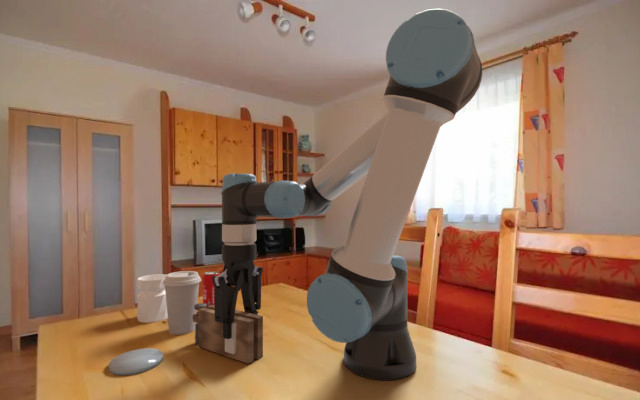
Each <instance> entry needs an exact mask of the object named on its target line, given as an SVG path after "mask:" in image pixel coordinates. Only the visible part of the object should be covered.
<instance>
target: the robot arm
mask: <svg viewBox="0 0 640 400" xmlns="http://www.w3.org/2000/svg"><path fill="white" fill-rule="evenodd" d="M385 63H386V67H387V72H388V73H389V79H388V82H387V85H386V88H385V91H384V94H383V97H382V101H383V102H384V104H385V106H386V109H387V113H385V114H384V115H383V116H382V117H380V119H378V120H377V121H375V123H373V124H372V125H371V126H369V128H367V129H366V130H365V131H364V132H362V133H361V134H360V135H359V136H358V137H357V138H355V140H353V141H352V142H351V143H350V144H349V145H347V146H346V147H345V148H344V149H343V150H341V152H339V153H337V154H336V156H334V157H333V158H332V159H331V160H330V161H329V162H327V163H326V164H325V165H324V166H323V167H321V168H320V169H319V170H317V172H315V173H314V174H313V175H312V176H310V178H308V179H307V180H305V181H304V182H302V183H299V182H298V181H297V182H296V181H293V180H282V179H281V180H277V181H276V180H275V181H264V182H263V181H262V182H257V176H256V175H254V174H253V173H227V174H225V175H223V177H222V183H221V184H222V185H221V193H220V195H221V241H222V242H223V243H224V244H222V245H221V260H222V261H223V263H224V266H223V268H222V272H221V273H219V274H220V275H218V276H213V277H212V281H213V284H214V287H215V321H216V322H220V323H223V338H225V352H228V353H231V354H235V353H236V323H235V322H233V320H234V314H235V310H236V309H237V308H236V307H237V300H238V296H239V295H238V294H239V292H240V293H241V297H242V298H241V299H242V304H243V309H244V310H243V312H247V313H252V314H256V315H259V310H261V308H262V276H263V272H264V268H263V267H261V266H256V265H255V262H254V261H256V259H257V244H256V243H255V242H256V241H257V218H277V219H289V218H295V217H306V216H308V217H309V216H310V217H315V216H318V215H323V214H325V213H326V212H327V211H328V210H329V209H330V208H331V204H332V201H334V200H335V199H337V198H338V197H340V196H341V195H342V194H344V192H346V191H347V190H348V189H350V188H351V187H352V186H355V184H356V183H358V182H359V181H360V180H362V179H363V178H364V177H365V181H364V183H363V186H362V189H361V192H360V194H359V195H360V196H359V198H358V201H357V203H356V207H355V210H354V213H353V216H352V219H351V222H350V225H349V228H348V231H347V233H346V236H345V239H344V242H343V244H342V245H341V246H339V247H337V248H334V249H332V252H331V254H330V256H329V260H328V262H327V266H326V269H325V273H323V274H321V275H319V276H317V277H316V278H315V279H314V281H312V282H311V284H310V286H309V288H308V290H307V293H306V306H307V310H308V311H307V312H308V315H310V317H311V319H312V320H311V321H312V323H313V325H314V326H315V327H316V328H317V330H318V331H319V332H320V333H321V334H322V335H324V336H325V337H326V338H328V339H329V340H331V341H334V342H336V343H341V344H343V343H345V345H344V349H343V363H344V365H345V367H346V368H347V369H348V370H350V371H351V372H353V373H355V374H357V375H359V376H361V377H364V378H368V379H372V380H380V381H392V380H393V381H394V380H399V379H403V378H406V377H408V376H410V375H412V374H413V373H414V372H416V369H417V353H416V350H415V346H414V343H413V341H412V337H411V335H410V331H409V329H408V275H409V271H408V264H407V263H408V262H407V259H406V258H405V257H403V256H402V255H401V256H400V255H396V254H395V252H396V249H397V246H398V242H399V240H400V238H401V234H402V233H403V229H404V227H405V224H406V221H407V219H408V215H409V213H410V210H411V207H412V205H413V202H414V199H415V196H416V194H417V192H418V189H419V186H420V183H421V180H422V178H423V175H424V172H425V170H426V167H427V164H428V161H429V158H430V156H431V153H432V152H433V151H432V150H433V147H434V145H435V143H436V141H437V137H438V134H439V131H440V128H441V127H442V126H443V125H445V124H447V123H449V122H451V121H453V120H454V119H455V117H456V114H457V113H459V112H460V111H461V110H462V109H463V108H464V107H465V106H466V105H468V104H469V102H470V101H472V99H473V98H474V96H475V95H476V94H477V92H478V91H479V88H480V86H481V82H482V79H483V66H482V61H481V58H480V56H479V54H478V50H477V48H476V44H475V39H474V34H473V32H472V29H471V28H470V26H468V25H467V23H466V21H465V20H464V19H463V18H462V17H461V16H460V15H459V14H458V13H455V12H454V11H453V10H449V9H445V8H432V9H430V8H429V9H426V10H423V11H420V12H417V13H415V14H414V15H412V16H411V17H410V18H408V19H406V20H405V21H404V22H402V23H401V24H400V25H399V26H398V27H397V28H396V29H395V31H394V32H393V34H392V35H391V37H390V40H389V41H388V43H387V47H386V52H385ZM394 254H395V255H394ZM227 316H228V317H227Z"/></svg>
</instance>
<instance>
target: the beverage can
mask: <svg viewBox="0 0 640 400" xmlns="http://www.w3.org/2000/svg"><path fill="white" fill-rule="evenodd" d="M220 274H221V273H220V271H216V270H214V271H213V270H212V271H206V272H203V275H202V303H206V304H207V308H208V306H211V305H215V287H214V284H213V281H212V277H213V276H218V275H220Z"/></svg>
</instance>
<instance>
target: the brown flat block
mask: <svg viewBox="0 0 640 400" xmlns="http://www.w3.org/2000/svg"><path fill="white" fill-rule="evenodd" d="M202 308H207V304H206V303H203V302H201V303H199V302H198V303H197V304H196V305H194V309H195V310H197V311H199V309H202ZM208 309H212V310H215V305H211V306H208ZM234 315H236V316H240V317H244V318H248V319H252V320H254V360H260V359H262V358H264V329H263V328H264V315H260V314H257V315H256V314H252V313H247V312H245V311H244V310H243V311H241V310H239V309H235V314H234ZM194 336H195V339H194V343H195V345H198V346H199V323H196V324H195V330H194Z"/></svg>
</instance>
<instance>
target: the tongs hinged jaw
mask: <svg viewBox="0 0 640 400" xmlns="http://www.w3.org/2000/svg"><path fill="white" fill-rule="evenodd" d="M227 317H228V316H227ZM193 322H196V323H199V345H198V347H200V348H201V349H205V350H207V351H211V352H213V353H217V354H219V355H222V356H225V357H227V358H231V359H234V360H236V361H238V362H242V363H244V364H251V363H252V362H254V360H255V359H254V320H252V319H248V318H244V317H240V316H236V315H234V320H233V322H235V323H236V353H235V354H231V353H228V352H225V338H223V323H220V322H216V321H215V310H212V309H208V308H202V309H199V310H198V313H196V314H194V315H193Z"/></svg>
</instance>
